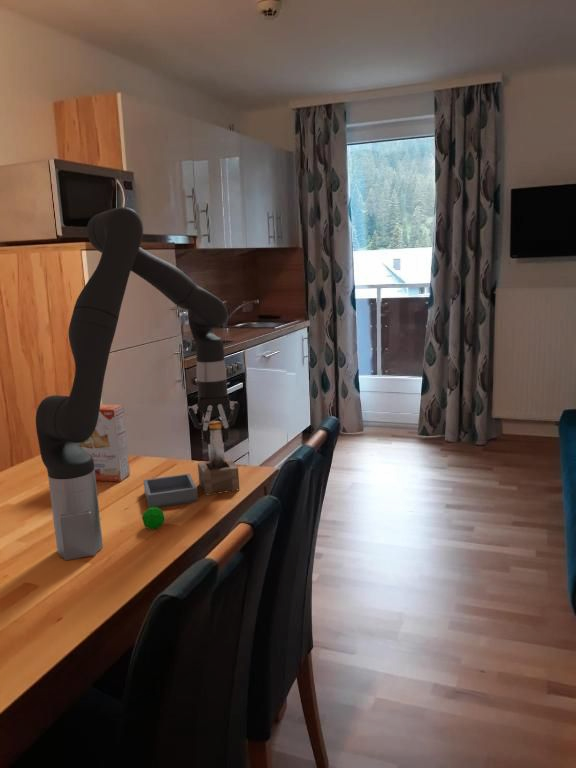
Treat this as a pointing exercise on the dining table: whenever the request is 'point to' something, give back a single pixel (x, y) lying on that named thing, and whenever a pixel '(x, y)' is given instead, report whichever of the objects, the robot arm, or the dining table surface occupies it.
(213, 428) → the gold capped jar
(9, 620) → the dining table surface
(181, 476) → the slate tray
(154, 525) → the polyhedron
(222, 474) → the wooden crate
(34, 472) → the dining table surface
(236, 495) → the dining table surface
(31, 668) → the dining table surface
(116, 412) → the cracker box
